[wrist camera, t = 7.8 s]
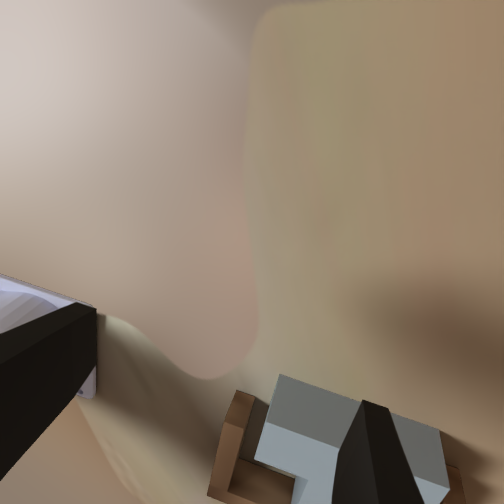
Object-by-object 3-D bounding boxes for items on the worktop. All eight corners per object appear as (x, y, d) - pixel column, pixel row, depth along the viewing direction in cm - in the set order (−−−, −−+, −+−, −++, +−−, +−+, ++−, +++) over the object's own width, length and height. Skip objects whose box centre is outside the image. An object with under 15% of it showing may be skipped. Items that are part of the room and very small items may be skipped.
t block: (252, 460, 27) (237, 511, 24) (279, 373, 23) (265, 421, 20) (386, 511, 25) (389, 572, 22) (438, 428, 22) (450, 489, 19)
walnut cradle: (219, 462, 28) (206, 495, 26) (236, 390, 24) (223, 421, 22) (410, 536, 26) (414, 578, 24) (458, 469, 22) (467, 511, 20)
